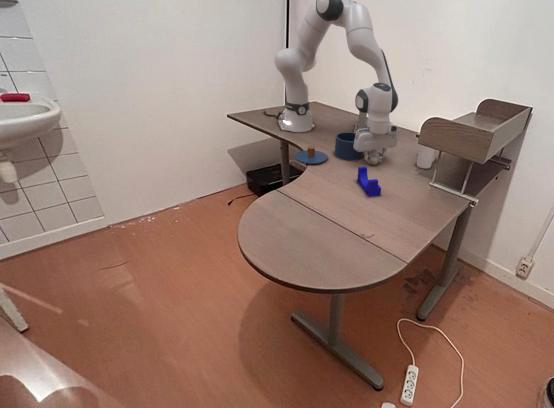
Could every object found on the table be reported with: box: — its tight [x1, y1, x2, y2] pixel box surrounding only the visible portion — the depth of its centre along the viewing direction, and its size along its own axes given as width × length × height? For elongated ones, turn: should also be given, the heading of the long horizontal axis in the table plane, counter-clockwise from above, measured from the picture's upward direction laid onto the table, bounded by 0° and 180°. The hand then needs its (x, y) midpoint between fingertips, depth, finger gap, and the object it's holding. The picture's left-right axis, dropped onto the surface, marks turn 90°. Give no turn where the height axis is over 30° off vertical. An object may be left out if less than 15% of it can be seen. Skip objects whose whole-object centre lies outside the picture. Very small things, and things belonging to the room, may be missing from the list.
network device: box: [353, 110, 368, 133], centre depth 163 cm, size 26×9×20 cm, turn 178°
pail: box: [334, 131, 364, 161], centre depth 133 cm, size 13×13×8 cm
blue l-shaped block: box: [356, 166, 382, 198], centre depth 108 cm, size 12×4×6 cm, turn 21°
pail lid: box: [294, 145, 328, 165], centre depth 127 cm, size 14×14×5 cm
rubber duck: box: [366, 149, 383, 166], centre depth 127 cm, size 5×7×8 cm
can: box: [416, 144, 435, 170], centre depth 128 cm, size 6×6×12 cm
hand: (374, 158), depth 127 cm, fingers closed on rubber duck, 6 cm apart
